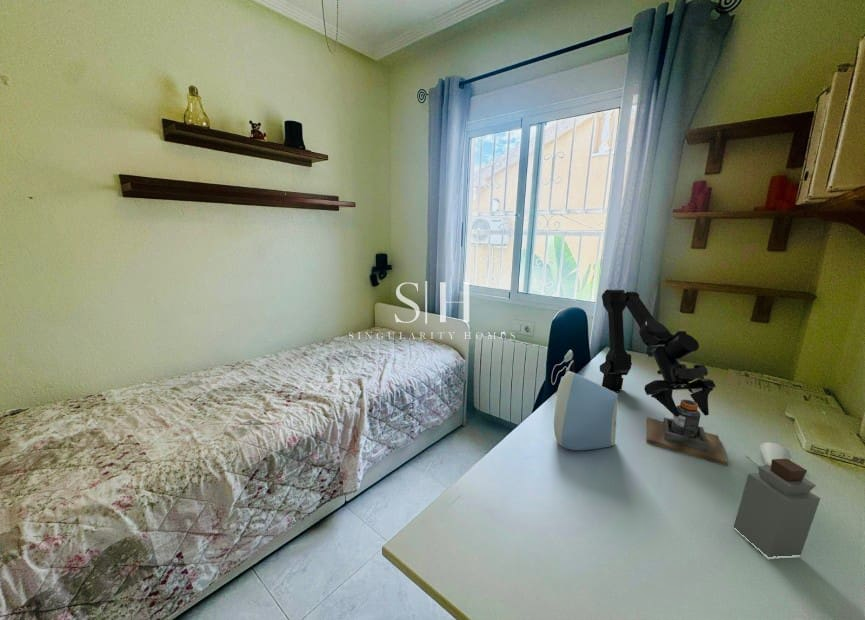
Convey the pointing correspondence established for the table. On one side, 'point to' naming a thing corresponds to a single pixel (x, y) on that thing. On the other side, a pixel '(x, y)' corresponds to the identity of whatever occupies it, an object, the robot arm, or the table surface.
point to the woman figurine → (772, 453)
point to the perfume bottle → (777, 508)
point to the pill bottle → (686, 419)
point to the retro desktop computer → (583, 412)
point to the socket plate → (685, 441)
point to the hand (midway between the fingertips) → (692, 415)
